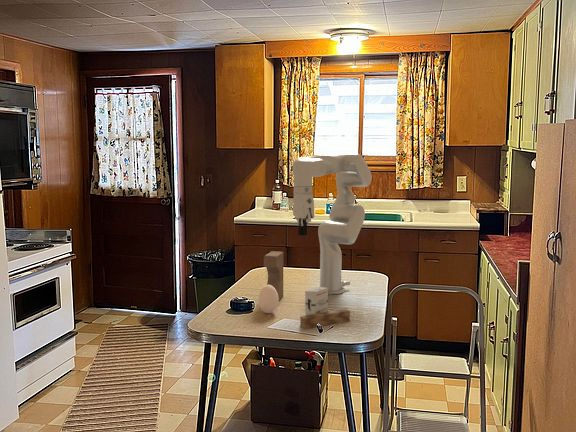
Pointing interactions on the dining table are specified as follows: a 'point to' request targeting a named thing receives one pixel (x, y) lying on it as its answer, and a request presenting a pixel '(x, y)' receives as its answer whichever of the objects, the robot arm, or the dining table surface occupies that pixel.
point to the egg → (268, 299)
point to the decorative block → (275, 270)
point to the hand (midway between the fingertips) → (302, 235)
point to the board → (324, 318)
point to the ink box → (316, 300)
